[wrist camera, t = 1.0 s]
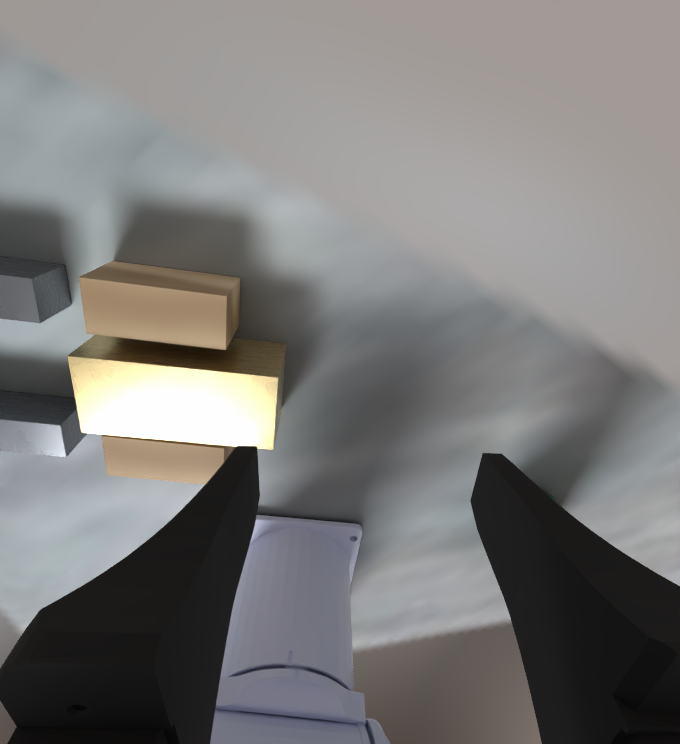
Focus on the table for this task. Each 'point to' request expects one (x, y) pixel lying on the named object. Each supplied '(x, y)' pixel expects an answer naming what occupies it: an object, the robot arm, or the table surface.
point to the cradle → (30, 411)
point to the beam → (167, 325)
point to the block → (180, 390)
